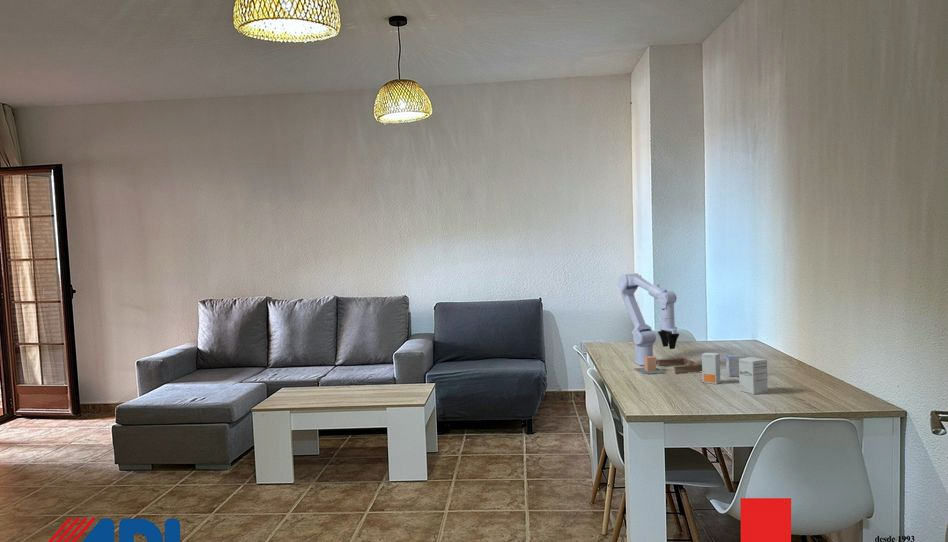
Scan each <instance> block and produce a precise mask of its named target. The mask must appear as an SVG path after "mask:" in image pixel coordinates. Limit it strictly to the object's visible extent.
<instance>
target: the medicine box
mask: <svg viewBox="0 0 948 542" xmlns="http://www.w3.org/2000/svg"><path fill="white" fill-rule="evenodd" d="M748 357H749V356H747V355H746V354H726V356H725V360H726V363H725V364H726V367H725V368H726V369H725V370H726V376H727V377H729V378H733V377H732V376H735V377H738V376H739V359H741V358H748ZM735 377H734V378H735Z"/></svg>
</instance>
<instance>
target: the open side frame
mask: <svg viewBox="0 0 948 542" xmlns="http://www.w3.org/2000/svg"><path fill="white" fill-rule="evenodd" d="M657 361H658V364H657V365H658V367H659V366H664V367H671V366H670V365H678V366H673V367H674V374H675V373H682V374H689V373H688V372H696V373H701V372H700V371H702V363H699V362H696V361H693V360H691V359H688V358H686V357H683V358H669V359H658V360H657ZM685 365H686V366H685Z"/></svg>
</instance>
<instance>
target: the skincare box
mask: <svg viewBox="0 0 948 542" xmlns="http://www.w3.org/2000/svg"><path fill="white" fill-rule="evenodd" d="M701 364H702V372H701V373H702V376H701V377H702V383H703V382H704V383H706V384H711V383H712V385H718V384H720V383H721V354H720V353H716V352H704V353H703V352H702V353H701Z"/></svg>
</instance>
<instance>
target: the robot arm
mask: <svg viewBox="0 0 948 542" xmlns="http://www.w3.org/2000/svg"><path fill="white" fill-rule="evenodd" d="M617 285H618V288H619V291H620V294H621V297H622V301H623V302H624V305H625V307H626V310H627V312H628V316H629V318H630V320H631V322H632V324H633V327H634V328H633V330H632V331H631V333H632V340H633V342H634V344H635V348H634V357H635V359H634V361H633V363H635V364H636V365H639V366H644V356H654V349H653V345H654V344H655V343H656V340H657V335H656V332H655V331H653V329H652V327H651V326H650V325H649V324H647V323H646V322H645V319H644V316H643V314H642V312H641V309H640V307H639V304H638V302H637V300H636V297H635V292H636V291H637V289H638V288H639V287H640V288H642V289H643V290H645V291H647V292H648V295H649V296H651V297H652V298H654V299H655V300H657V301H658V303H659V308H660V315H661V325H660V326H659V331H657V334H658V336H659V337H660V340H661V344H662V347H668V346H669V347H668V348H669V349H670V350H675V349H676V344H677V342H678V341H677V340H678V338H679V336H680V333H678V327H677V326H675V325H676V323H675V303H676V302H677V295H676V293H675V291H672V290H669V291H668V290H667V289H666V288H664V287H662V286H660V284H658V283H653V284H652V283H650V282H649V281H647V280H646V279H645V278H644V277H642V275H640V274H639V273H627V274H624V273H623V274H620V275H619V277H618V279H617Z"/></svg>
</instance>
